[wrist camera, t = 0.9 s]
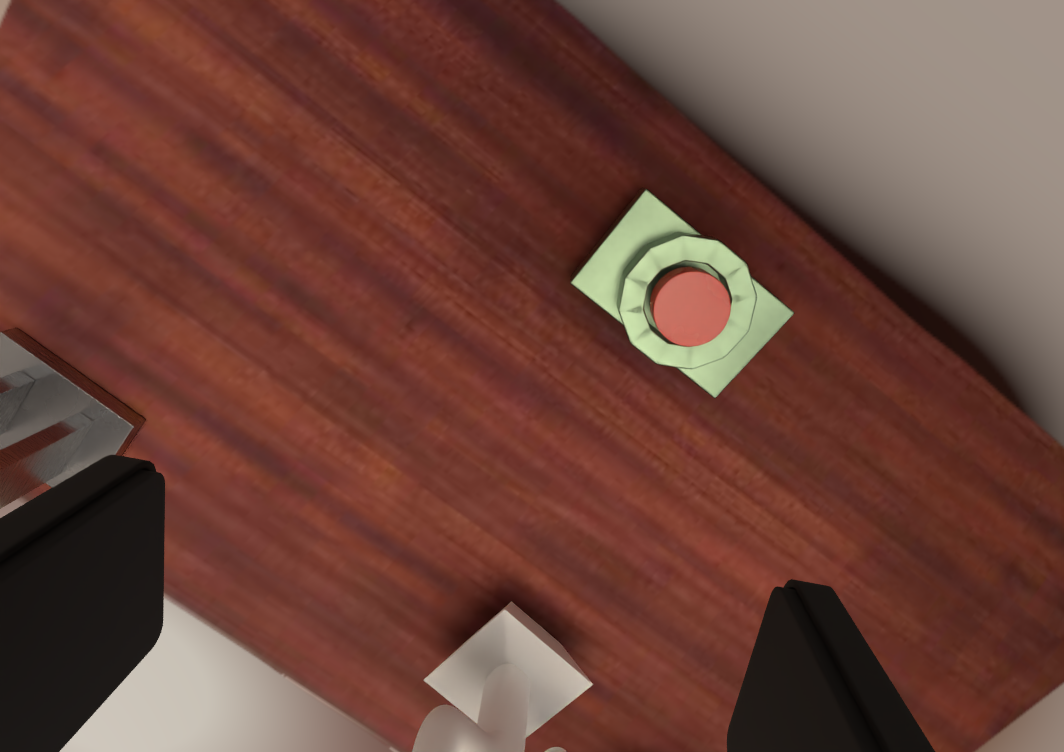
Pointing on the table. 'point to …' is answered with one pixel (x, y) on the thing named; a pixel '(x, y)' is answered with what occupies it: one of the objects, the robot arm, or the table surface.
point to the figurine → (500, 688)
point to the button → (690, 306)
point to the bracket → (52, 418)
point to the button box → (648, 254)
